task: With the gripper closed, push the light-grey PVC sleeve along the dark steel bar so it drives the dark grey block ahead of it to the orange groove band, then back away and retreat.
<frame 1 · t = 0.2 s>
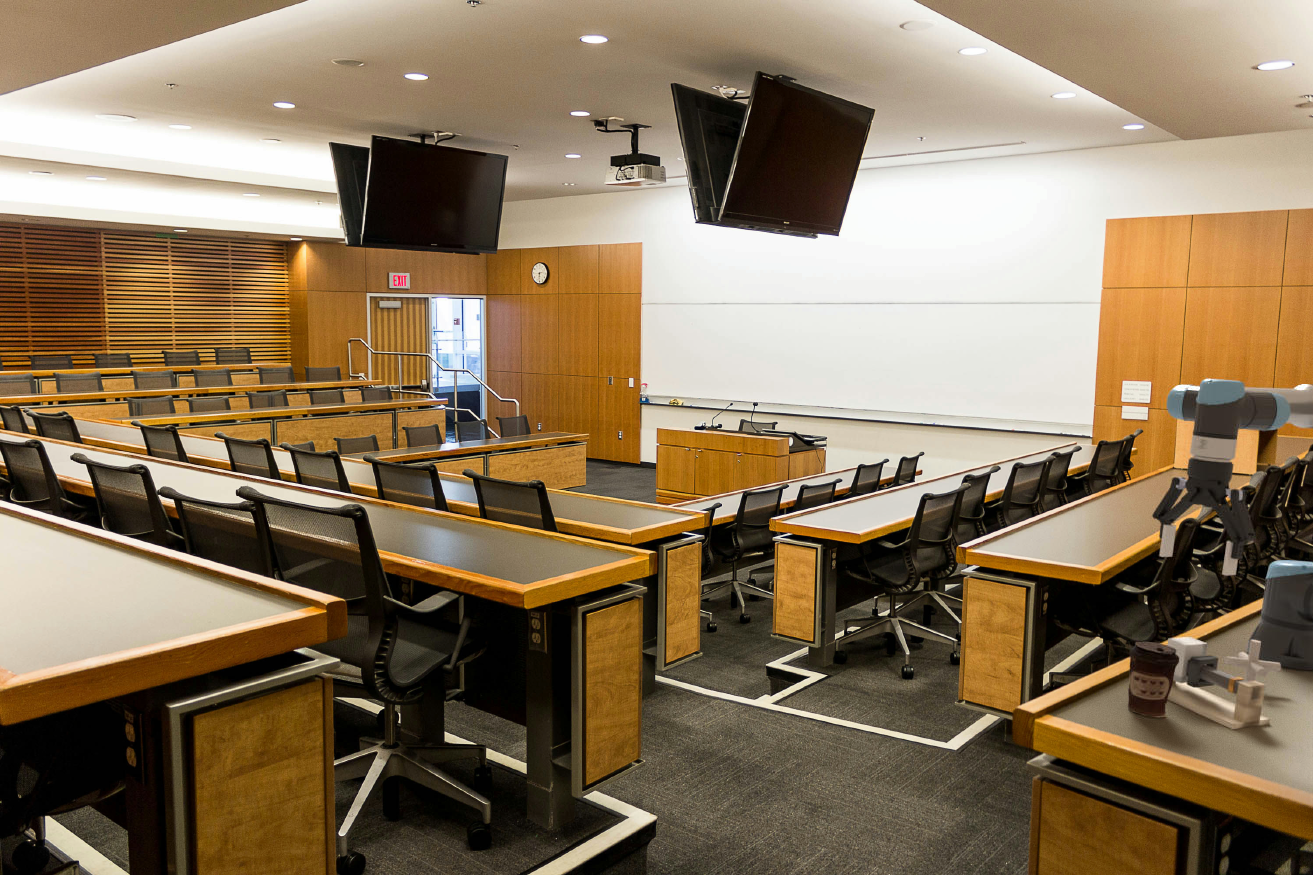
hand: (1196, 565, 182), 27 cm above the table, fingers open, 13 cm apart
sleeve: (1185, 659, 186), point 7 cm above the table, slide at 0.0 cm
coffee cup: (1146, 712, 177), on the table
pipe connector: (1248, 687, 194), on the table
dark grey block: (1202, 671, 182), point 7 cm above the table, slide at 0.0 cm
pipe rig: (1202, 704, 182), on the table
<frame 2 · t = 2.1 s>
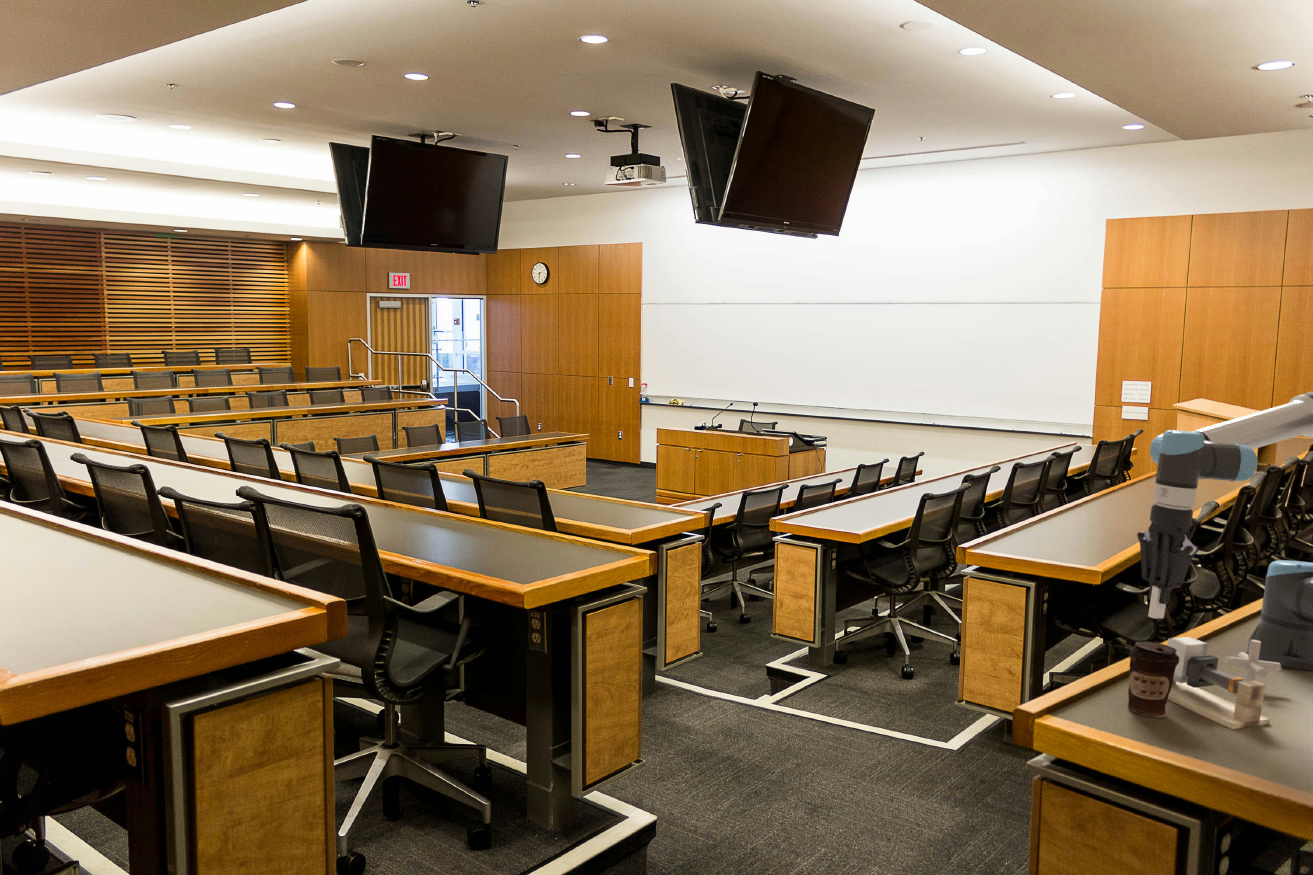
hand: (1155, 616, 192), 14 cm above the table, fingers closed
nothing on the table moved.
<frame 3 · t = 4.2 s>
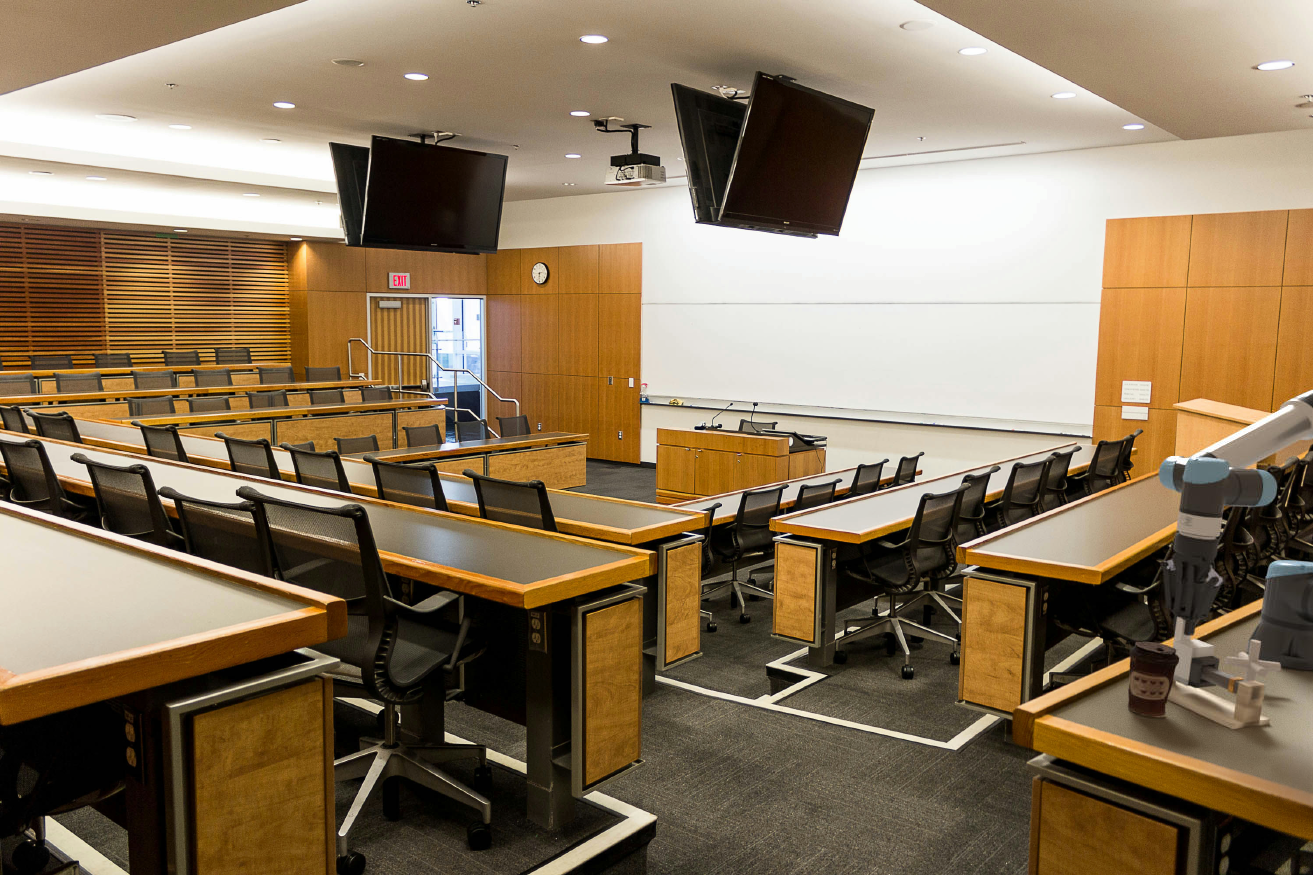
hand: (1180, 648, 187), 9 cm above the table, fingers closed
sleeve: (1191, 662, 185), point 7 cm above the table, slide at 1.5 cm, touching gripper, dark grey block
dark grey block: (1203, 671, 182), point 7 cm above the table, slide at 0.3 cm, touching sleeve
everything else where it was.
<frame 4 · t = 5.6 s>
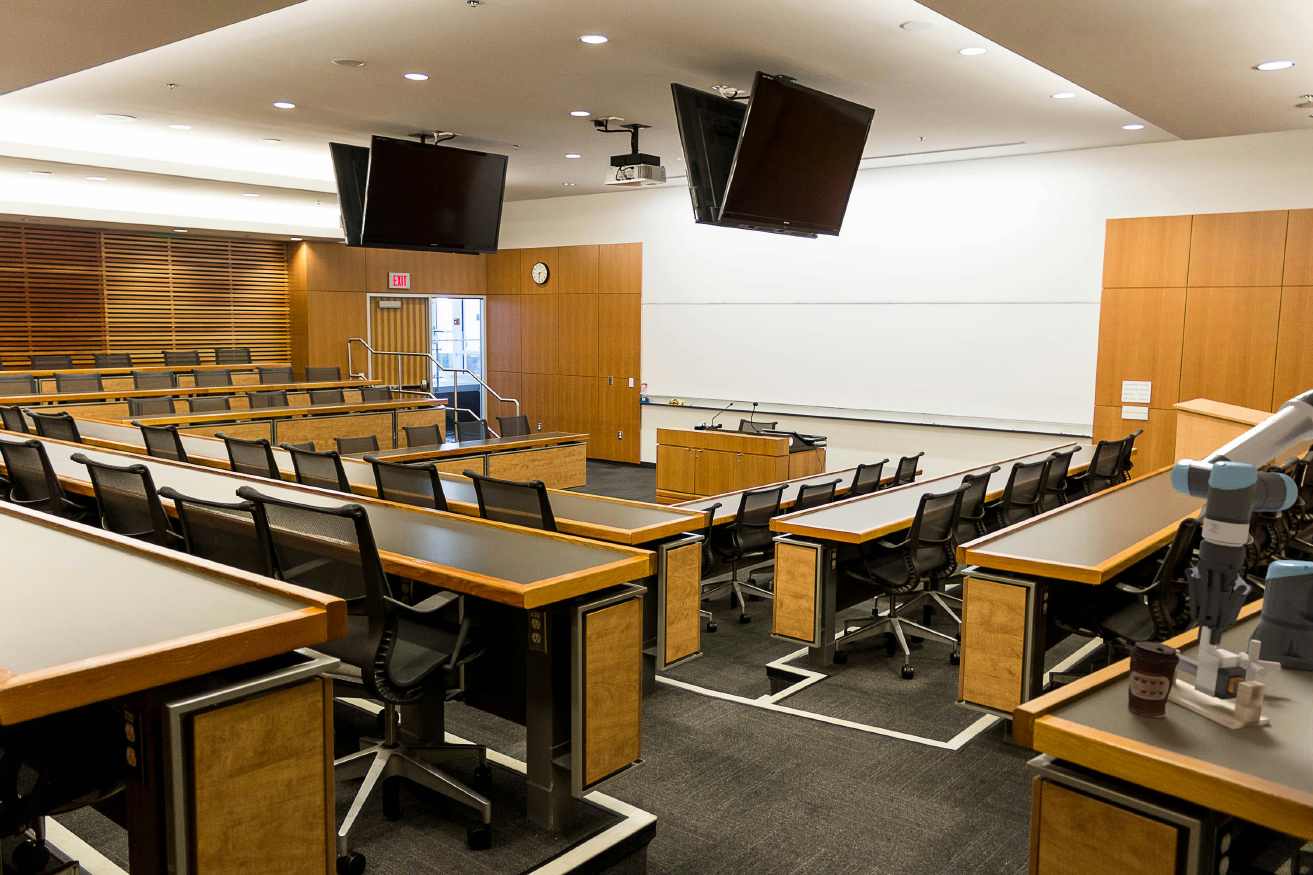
hand: (1206, 658, 182), 9 cm above the table, fingers closed
sleeve: (1217, 672, 179), point 7 cm above the table, slide at 7.1 cm, touching gripper, dark grey block
dark grey block: (1230, 682, 177), point 7 cm above the table, slide at 5.9 cm, touching sleeve
everything else where it was.
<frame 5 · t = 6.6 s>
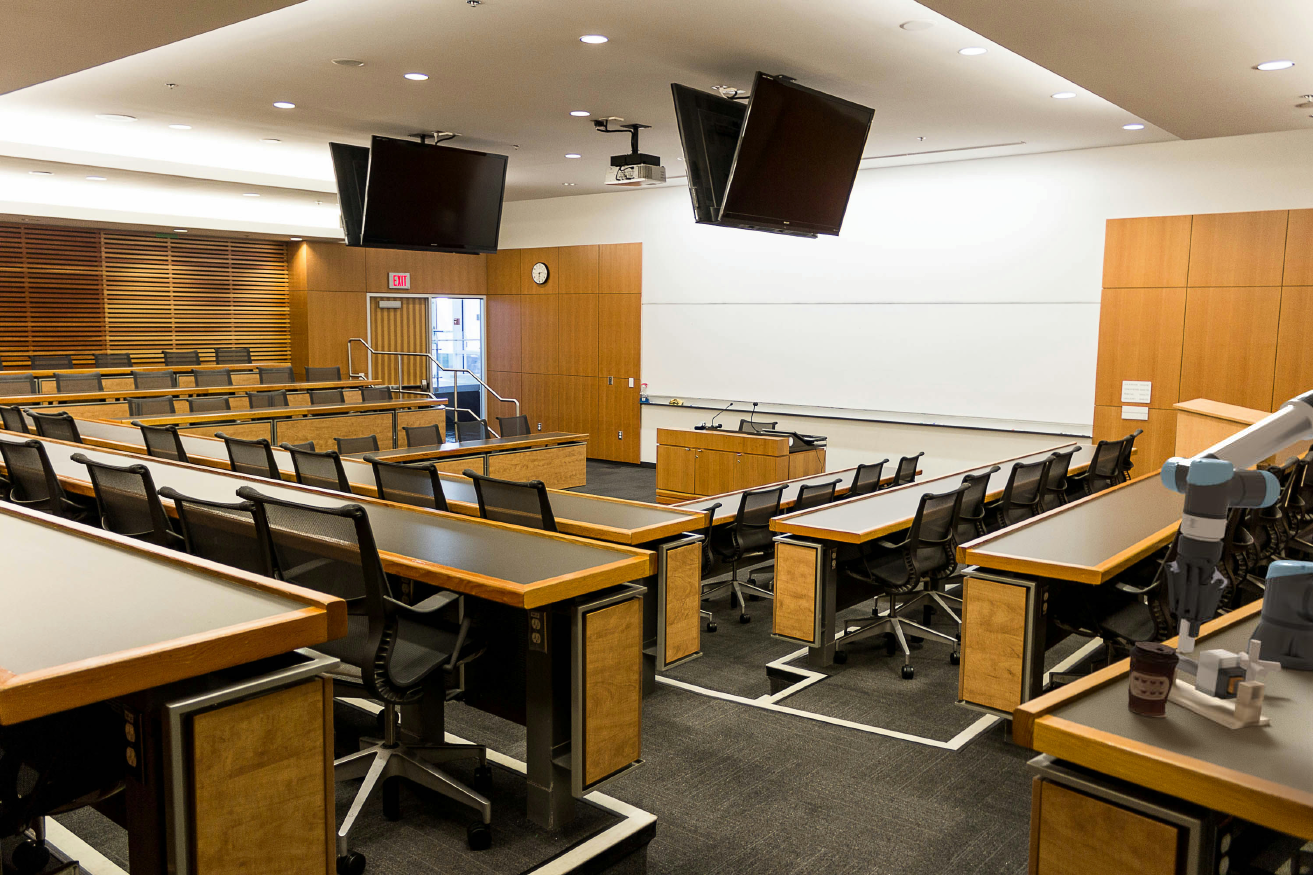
hand: (1185, 650, 186), 9 cm above the table, fingers closed
sleeve: (1217, 672, 179), point 7 cm above the table, slide at 7.2 cm, touching dark grey block
everything else where it was.
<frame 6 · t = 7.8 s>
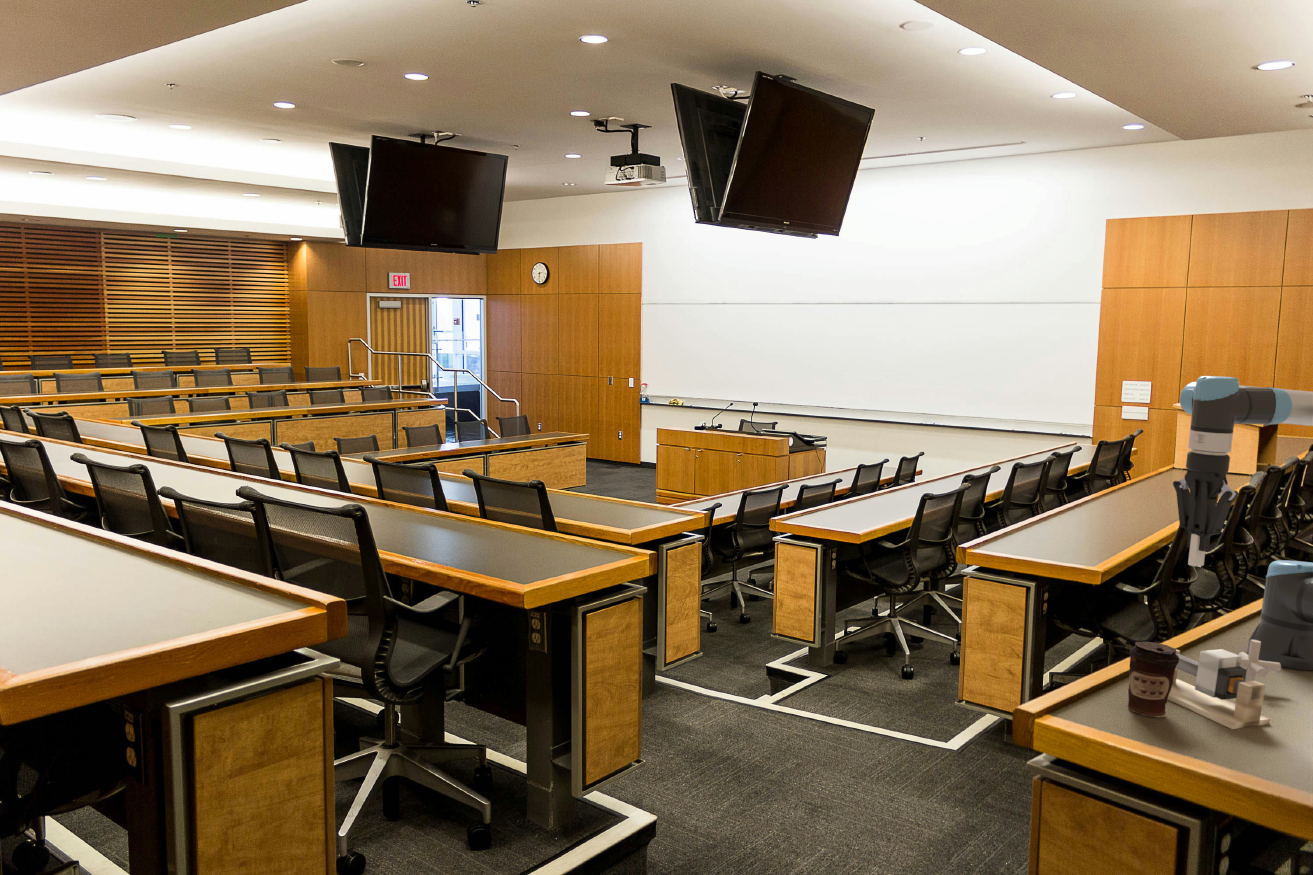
hand: (1195, 564, 191), 25 cm above the table, fingers closed
nothing on the table moved.
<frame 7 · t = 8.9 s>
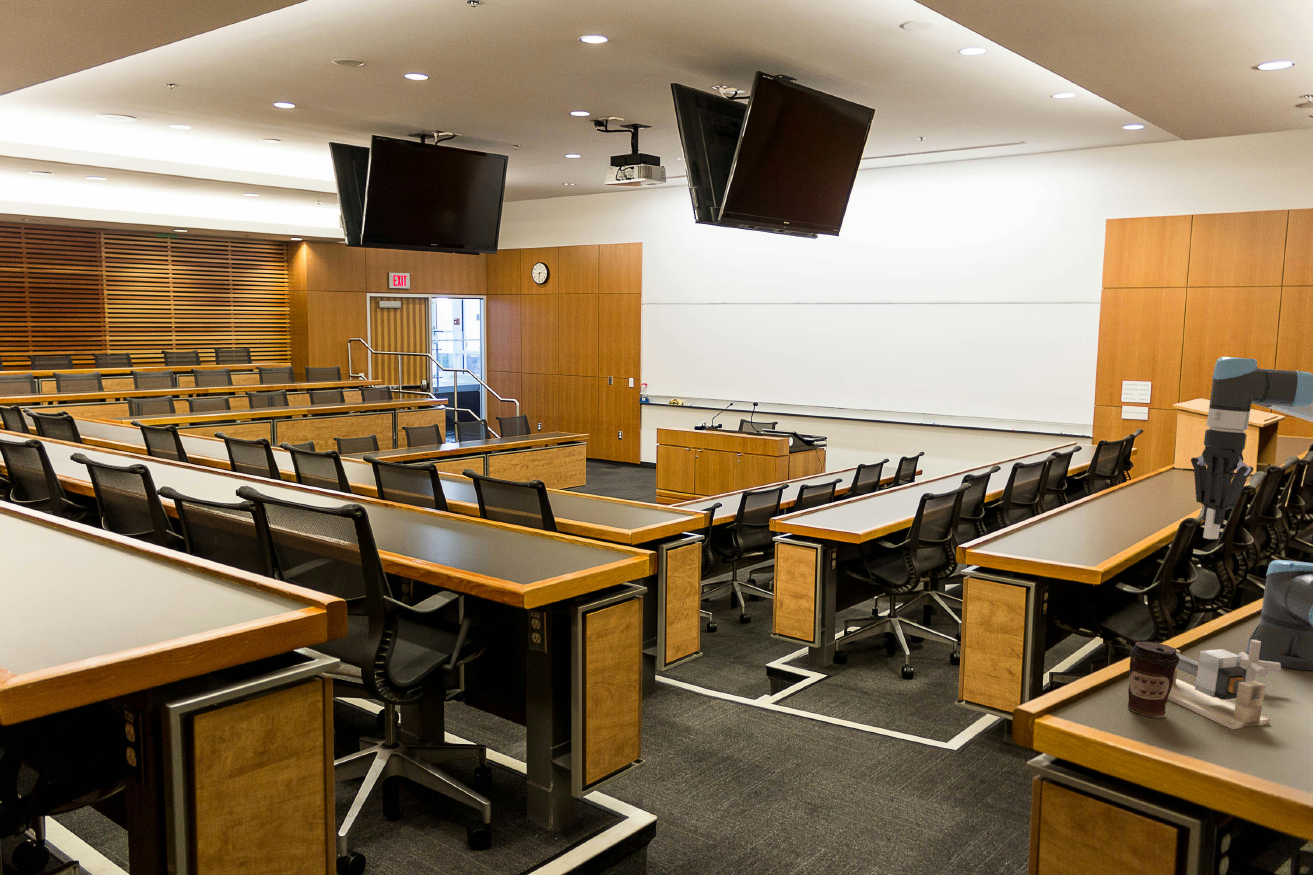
hand: (1210, 537, 200), 29 cm above the table, fingers closed
nothing on the table moved.
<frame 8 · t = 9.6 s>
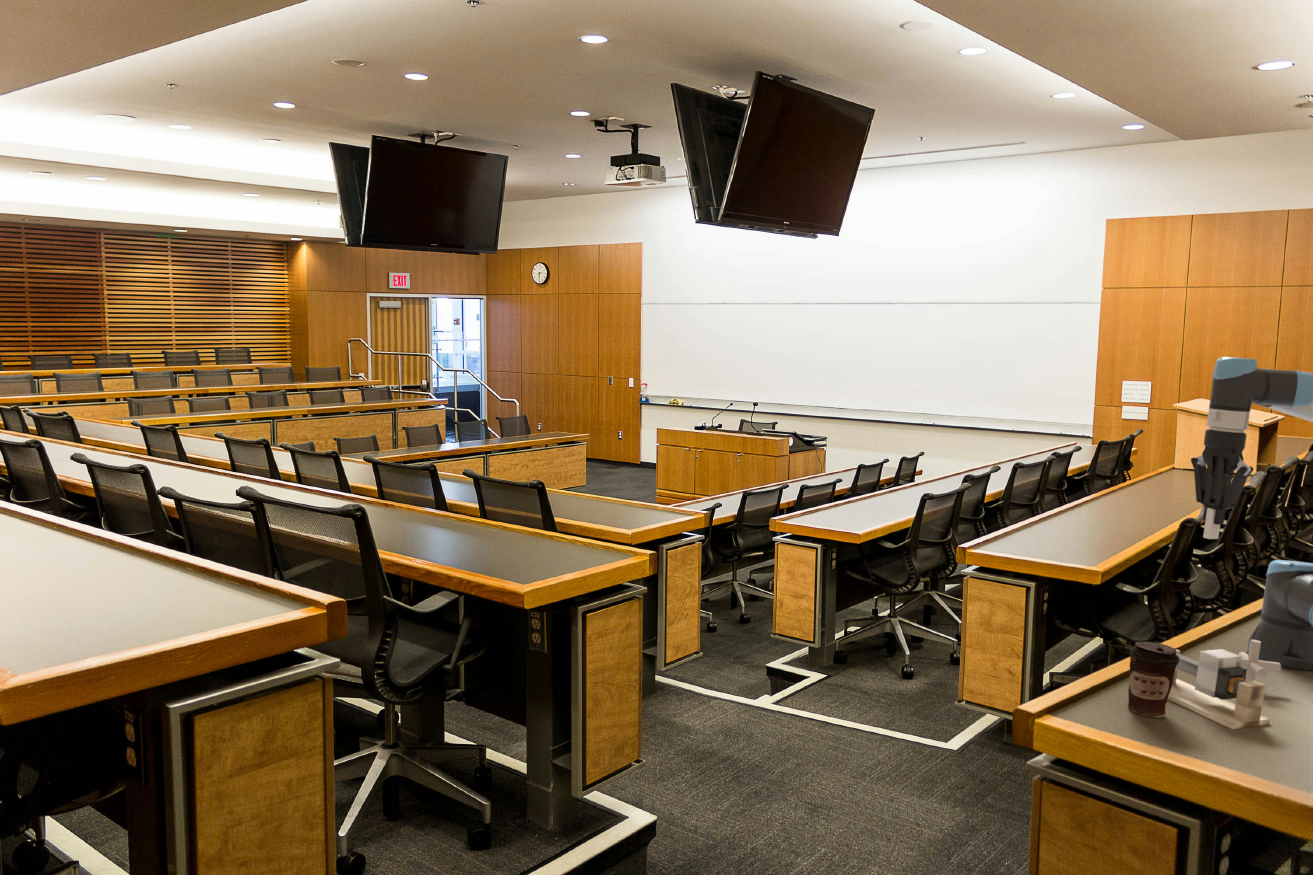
hand: (1210, 537, 200), 29 cm above the table, fingers closed
nothing on the table moved.
at the end: dark grey block slide at 5.9 cm; sleeve slide at 7.2 cm; dark grey block 1.2 cm from the sleeve (horizontally) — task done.
